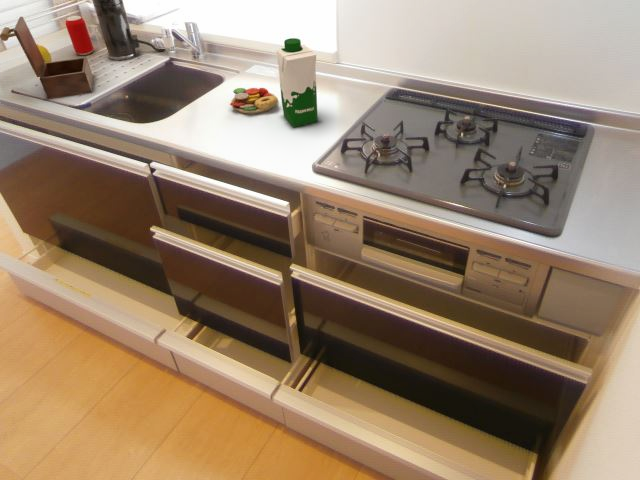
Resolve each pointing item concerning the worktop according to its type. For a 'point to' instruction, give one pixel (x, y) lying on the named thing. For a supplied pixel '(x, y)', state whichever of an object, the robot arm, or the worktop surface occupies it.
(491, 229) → the worktop surface
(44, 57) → the lemon
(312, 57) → the soya milk
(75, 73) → the chest
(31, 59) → the lid
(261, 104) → the toy food set
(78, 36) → the beverage can
